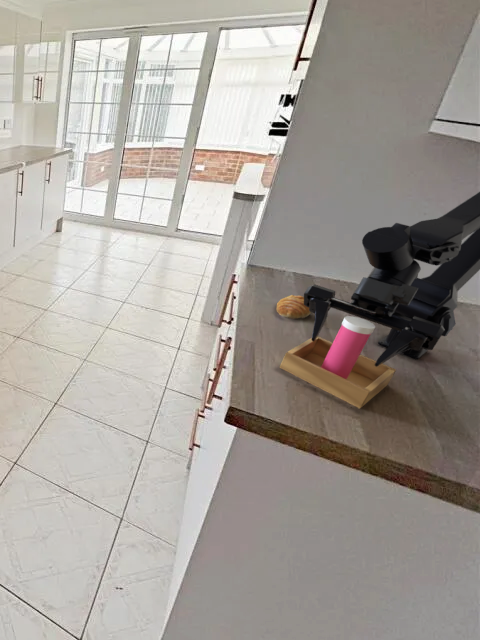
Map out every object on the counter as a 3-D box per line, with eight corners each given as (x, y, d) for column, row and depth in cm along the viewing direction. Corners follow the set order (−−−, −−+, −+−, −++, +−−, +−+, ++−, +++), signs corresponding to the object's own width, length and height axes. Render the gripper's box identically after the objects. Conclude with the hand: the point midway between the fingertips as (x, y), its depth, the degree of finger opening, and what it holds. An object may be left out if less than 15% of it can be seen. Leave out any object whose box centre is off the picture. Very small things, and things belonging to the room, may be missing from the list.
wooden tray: (307, 352, 86) (315, 335, 84) (385, 388, 76) (396, 369, 74) (277, 370, 80) (285, 352, 78) (358, 412, 70) (369, 392, 68)
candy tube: (324, 366, 80) (350, 313, 75) (350, 378, 77) (379, 324, 72) (314, 373, 78) (340, 319, 73) (340, 385, 75) (370, 330, 70)
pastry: (300, 325, 95) (306, 311, 94) (267, 314, 100) (273, 300, 99) (312, 313, 101) (318, 300, 99) (280, 303, 106) (285, 290, 104)
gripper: (327, 245, 77) (283, 311, 76) (474, 283, 64) (423, 364, 62) (324, 273, 85) (284, 334, 83) (455, 312, 71) (409, 386, 70)
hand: (342, 352), depth 74 cm, fingers open, 9 cm apart
